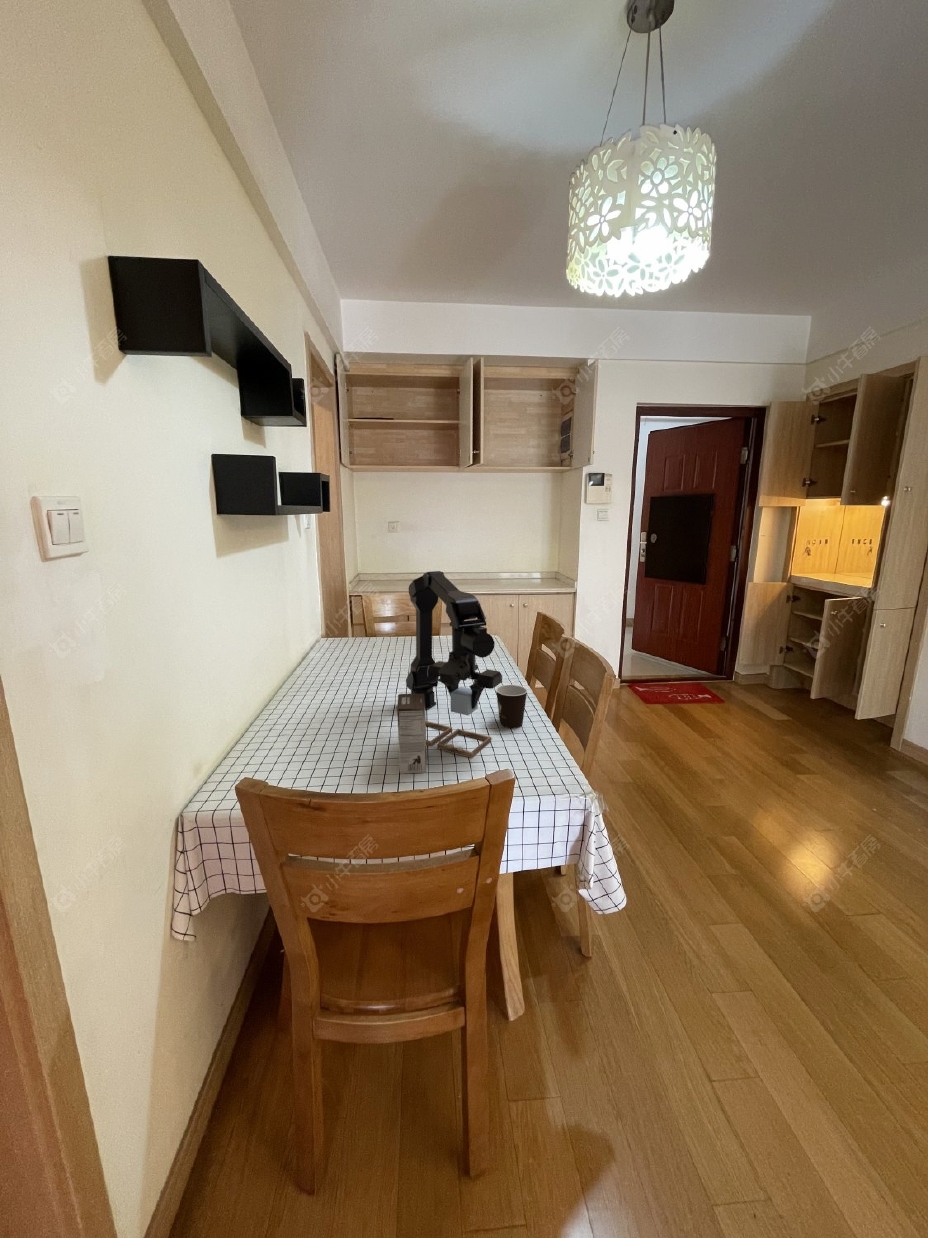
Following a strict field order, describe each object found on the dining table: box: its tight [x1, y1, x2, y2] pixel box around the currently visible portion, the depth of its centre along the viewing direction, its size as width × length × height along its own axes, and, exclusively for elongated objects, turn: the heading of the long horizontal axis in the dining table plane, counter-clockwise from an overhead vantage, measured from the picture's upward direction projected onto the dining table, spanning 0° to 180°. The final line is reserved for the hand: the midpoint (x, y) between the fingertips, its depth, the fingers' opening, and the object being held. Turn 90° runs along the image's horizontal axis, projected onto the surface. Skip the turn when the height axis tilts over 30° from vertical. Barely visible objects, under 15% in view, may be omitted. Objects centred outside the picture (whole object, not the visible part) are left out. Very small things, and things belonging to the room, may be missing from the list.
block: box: [449, 686, 479, 716], centre depth 122 cm, size 5×5×5 cm
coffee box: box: [396, 693, 427, 774], centre depth 113 cm, size 9×6×16 cm
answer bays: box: [426, 720, 492, 759], centre depth 127 cm, size 22×11×2 cm, turn 60°
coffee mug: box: [495, 684, 528, 729], centre depth 137 cm, size 12×9×10 cm
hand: (464, 706), depth 122 cm, fingers closed on block, 5 cm apart
